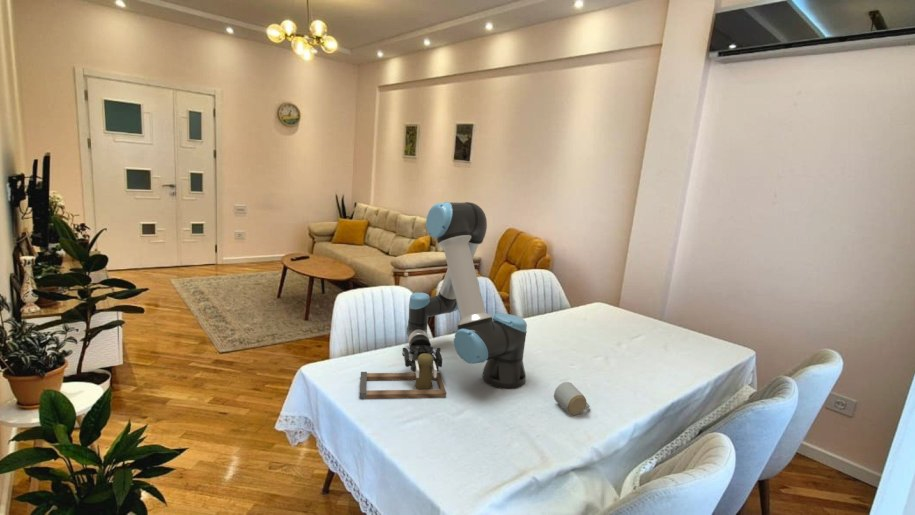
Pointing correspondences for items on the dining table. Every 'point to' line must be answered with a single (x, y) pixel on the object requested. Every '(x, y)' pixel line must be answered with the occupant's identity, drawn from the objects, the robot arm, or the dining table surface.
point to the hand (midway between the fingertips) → (426, 373)
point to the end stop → (363, 385)
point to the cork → (424, 372)
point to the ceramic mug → (570, 398)
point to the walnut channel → (403, 393)
